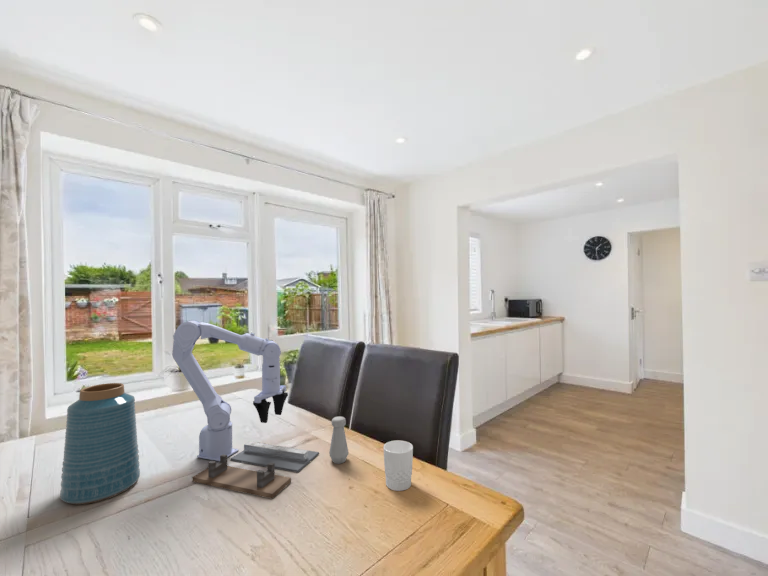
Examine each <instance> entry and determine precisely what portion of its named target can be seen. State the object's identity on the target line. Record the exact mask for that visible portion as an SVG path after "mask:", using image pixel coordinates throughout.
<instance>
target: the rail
mask: <svg viewBox="0 0 768 576" xmlns="http://www.w3.org/2000/svg"><path fill="white" fill-rule="evenodd" d="M262 443H263V442H262ZM262 443H261V442H254V441H247V442H245V443H244V444H243V450H244V452H247V453H253V454H259V455H265V456H271V457H277V458H282V459H288V460H294V461H300V462H305V461H306V460H307V459H308V451H309V450H308V449H302V450H301V448H296V447H289V448H288V446H280V445H276V446H275V444H270V445H269V443H263V444H262Z"/></svg>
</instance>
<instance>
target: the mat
mask: <svg viewBox="0 0 768 576" xmlns="http://www.w3.org/2000/svg"><path fill="white" fill-rule="evenodd" d="M262 444H264V443H263V442H262ZM268 444H269V443H268ZM269 445H271V444H269ZM274 445H275V444H274ZM275 446H277V445H275ZM287 447H288V446H287ZM288 448H290V447H288ZM300 449H301V448H300ZM301 450H303V449H301ZM318 454H320V452H319V451H314V450H308V459H307V460H306V461H305V462H300V461H294V460H288V459H282V458H277V457H271V456H265V455H259V454H253V453H247V452H244V449H243V450H241V451H240V452H239V453H238V452H237V454H235V455H233V456H232V457H231V458H230V461H233V462H237V463H244V464H250V465H254V466H260V467H265V468H267V464H268V463H275V470H276V469H277V470H280V471H288V472H292V473H299V472H300V471H302V470H303V469H304V468H305V467H306V466H307V465H308V464H309V463H311V462H312V461H313V460H314V459H315V458H317V457H318V456H319V455H318ZM310 461H311V462H310Z"/></svg>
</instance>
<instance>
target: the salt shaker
mask: <svg viewBox="0 0 768 576" xmlns="http://www.w3.org/2000/svg"><path fill="white" fill-rule="evenodd" d="M346 424H347V420H346V418H345V417H344V416H340V415H339V416H334V417H333V418H332V419H331V426H332V427H333V428H332V432H331V433H332V435H331V439H330V440H331V441H330V447H329V450H328V451H329V457H330V459H331V461H332V463H333V462H334V464H339V465H341V464H343V463H345V462H346V460H347V458H348V456H349V448H348V441H347V438H346V431H345V426H346Z"/></svg>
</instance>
